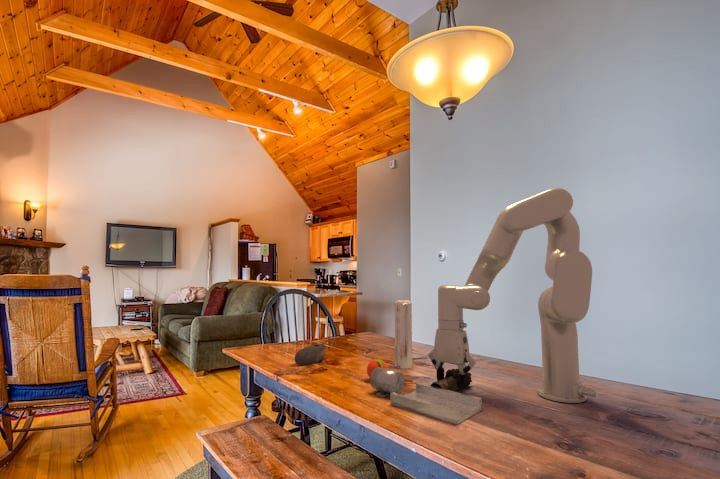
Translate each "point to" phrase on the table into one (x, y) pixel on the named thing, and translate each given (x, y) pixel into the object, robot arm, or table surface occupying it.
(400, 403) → the cradle
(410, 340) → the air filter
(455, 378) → the brown knobbed club
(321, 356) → the perforated stone tool
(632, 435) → the table surface
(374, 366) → the clementine
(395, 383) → the duct stub
